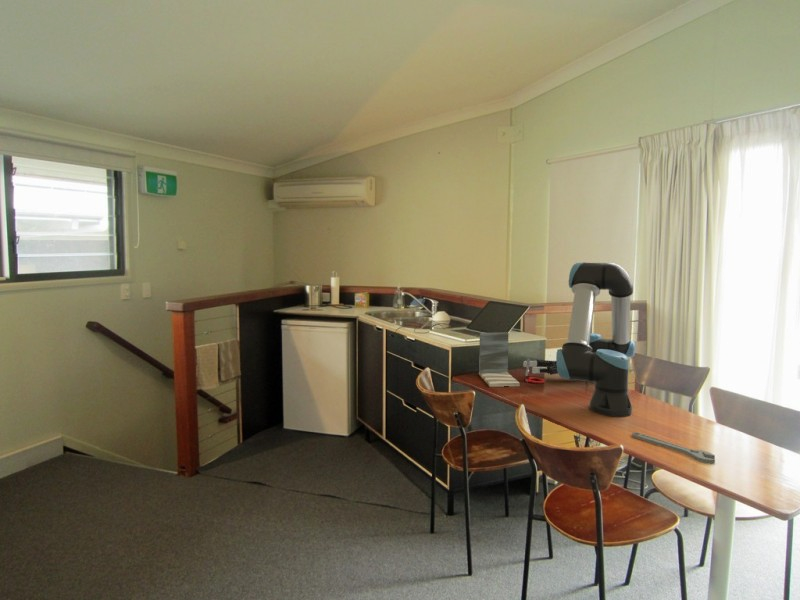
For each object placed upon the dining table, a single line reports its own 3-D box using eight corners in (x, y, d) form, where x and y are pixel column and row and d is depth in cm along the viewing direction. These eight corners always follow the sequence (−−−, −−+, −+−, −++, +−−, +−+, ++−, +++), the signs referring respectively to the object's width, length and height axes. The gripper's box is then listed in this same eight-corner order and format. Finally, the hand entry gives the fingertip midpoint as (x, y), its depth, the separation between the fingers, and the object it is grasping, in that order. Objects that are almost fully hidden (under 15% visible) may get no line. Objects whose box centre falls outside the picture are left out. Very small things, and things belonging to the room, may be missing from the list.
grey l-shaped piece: (519, 386, 217) (520, 340, 215) (489, 386, 217) (490, 340, 214) (506, 374, 239) (507, 332, 237) (479, 374, 238) (479, 332, 236)
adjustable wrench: (630, 437, 158) (630, 432, 158) (641, 434, 161) (641, 429, 161) (709, 466, 137) (709, 460, 137) (720, 461, 140) (721, 455, 140)
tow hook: (544, 380, 229) (524, 378, 231) (546, 354, 227) (526, 352, 230) (545, 385, 221) (525, 383, 223) (547, 358, 219) (527, 356, 221)
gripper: (582, 380, 215) (536, 381, 213) (561, 367, 239) (519, 368, 237) (583, 364, 214) (537, 365, 213) (562, 353, 238) (520, 353, 237)
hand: (527, 367), depth 225 cm, fingers open, 12 cm apart
